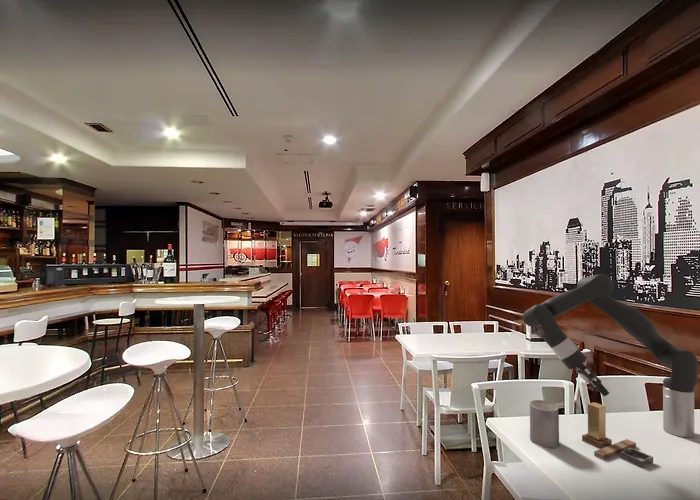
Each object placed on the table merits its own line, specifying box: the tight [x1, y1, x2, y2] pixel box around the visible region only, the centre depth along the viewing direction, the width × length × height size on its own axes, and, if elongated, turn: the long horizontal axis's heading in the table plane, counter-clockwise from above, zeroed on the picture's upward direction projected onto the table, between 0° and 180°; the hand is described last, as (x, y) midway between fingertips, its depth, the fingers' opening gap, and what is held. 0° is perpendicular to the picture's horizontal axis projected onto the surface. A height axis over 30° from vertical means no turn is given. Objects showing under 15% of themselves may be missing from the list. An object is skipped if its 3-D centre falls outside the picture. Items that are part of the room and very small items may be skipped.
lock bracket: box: [581, 432, 654, 469], centre depth 132 cm, size 20×20×2 cm
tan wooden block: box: [587, 401, 607, 442], centre depth 138 cm, size 4×4×14 cm
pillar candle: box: [529, 399, 560, 449], centre depth 138 cm, size 10×10×15 cm
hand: (602, 392), depth 130 cm, fingers open, 8 cm apart
